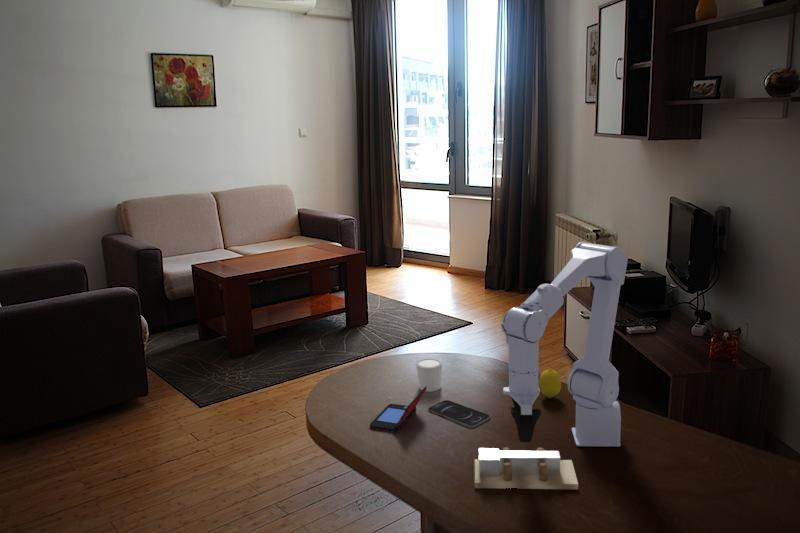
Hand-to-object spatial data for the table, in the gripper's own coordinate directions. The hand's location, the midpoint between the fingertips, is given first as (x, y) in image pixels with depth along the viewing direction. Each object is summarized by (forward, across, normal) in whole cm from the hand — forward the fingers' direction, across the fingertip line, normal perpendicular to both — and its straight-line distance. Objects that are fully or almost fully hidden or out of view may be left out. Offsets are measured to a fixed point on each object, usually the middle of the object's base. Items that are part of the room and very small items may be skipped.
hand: (524, 431), depth 135 cm
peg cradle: (+10, 0, 0) cm, 10 cm away
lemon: (+10, -37, +9) cm, 39 cm away
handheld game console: (+10, -25, -28) cm, 39 cm away
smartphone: (+10, -28, -14) cm, 33 cm away
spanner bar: (+9, 0, -1) cm, 9 cm away
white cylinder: (+10, -44, -22) cm, 50 cm away
